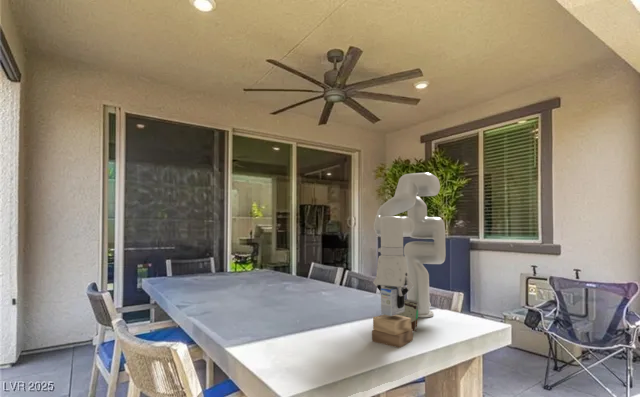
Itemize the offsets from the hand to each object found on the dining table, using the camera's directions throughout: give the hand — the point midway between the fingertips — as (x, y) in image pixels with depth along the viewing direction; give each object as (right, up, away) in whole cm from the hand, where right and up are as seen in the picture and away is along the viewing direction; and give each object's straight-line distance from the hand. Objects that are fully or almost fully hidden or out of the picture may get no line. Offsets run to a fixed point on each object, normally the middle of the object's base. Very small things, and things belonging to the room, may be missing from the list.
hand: (393, 305), depth 122 cm
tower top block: (0, -8, -1) cm, 8 cm away
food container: (+9, -13, +15) cm, 21 cm away
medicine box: (0, -3, 0) cm, 3 cm away
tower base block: (0, -12, -1) cm, 12 cm away
